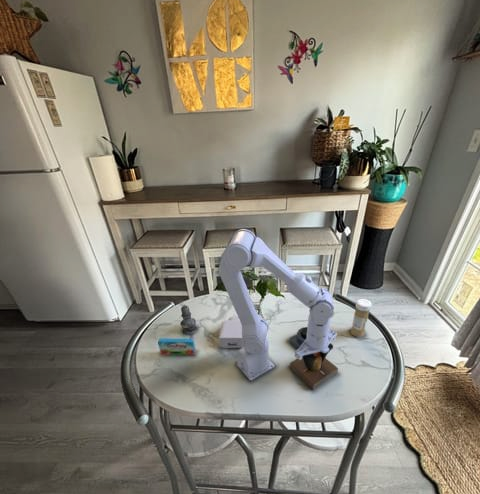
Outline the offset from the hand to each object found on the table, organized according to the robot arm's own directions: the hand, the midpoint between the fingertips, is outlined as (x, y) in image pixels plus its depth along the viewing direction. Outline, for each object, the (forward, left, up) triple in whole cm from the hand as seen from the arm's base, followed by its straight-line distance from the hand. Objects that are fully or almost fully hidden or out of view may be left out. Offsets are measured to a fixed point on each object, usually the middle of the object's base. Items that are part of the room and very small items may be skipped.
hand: (313, 364), depth 82 cm
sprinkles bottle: (+25, +3, -3) cm, 25 cm away
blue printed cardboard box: (-31, +32, -3) cm, 45 cm away
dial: (0, 0, 0) cm, 0 cm away
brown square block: (0, 0, -3) cm, 3 cm away
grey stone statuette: (-23, +41, -3) cm, 47 cm away
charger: (-10, +29, -3) cm, 31 cm away
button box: (+8, +10, -3) cm, 13 cm away
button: (+7, +10, 0) cm, 13 cm away
